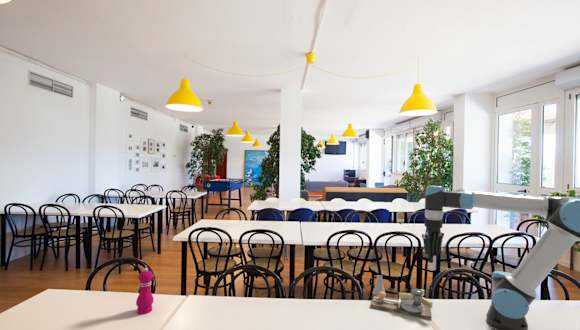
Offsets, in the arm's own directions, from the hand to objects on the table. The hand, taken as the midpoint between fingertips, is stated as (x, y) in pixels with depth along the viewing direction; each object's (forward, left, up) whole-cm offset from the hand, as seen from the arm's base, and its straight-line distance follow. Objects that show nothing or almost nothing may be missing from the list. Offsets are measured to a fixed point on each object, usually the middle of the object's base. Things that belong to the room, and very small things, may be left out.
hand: (432, 269), depth 138 cm
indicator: (+19, -3, -21) cm, 28 cm away
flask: (+25, -15, -23) cm, 37 cm away
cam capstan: (+5, -1, -21) cm, 21 cm away
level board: (+13, -3, -22) cm, 26 cm away
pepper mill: (+122, +53, -23) cm, 135 cm away
